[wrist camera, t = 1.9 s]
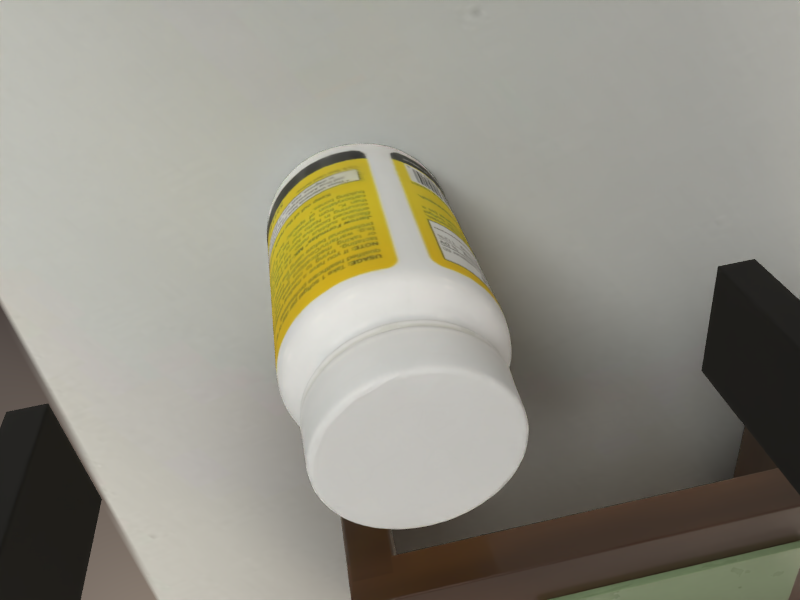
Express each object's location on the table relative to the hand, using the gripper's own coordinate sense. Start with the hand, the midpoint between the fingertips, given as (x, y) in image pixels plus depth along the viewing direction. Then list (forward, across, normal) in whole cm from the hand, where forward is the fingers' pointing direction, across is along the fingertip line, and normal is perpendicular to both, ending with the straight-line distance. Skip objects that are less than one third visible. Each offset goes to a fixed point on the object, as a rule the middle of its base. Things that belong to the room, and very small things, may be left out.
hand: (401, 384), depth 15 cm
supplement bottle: (+6, 0, 0) cm, 6 cm away
